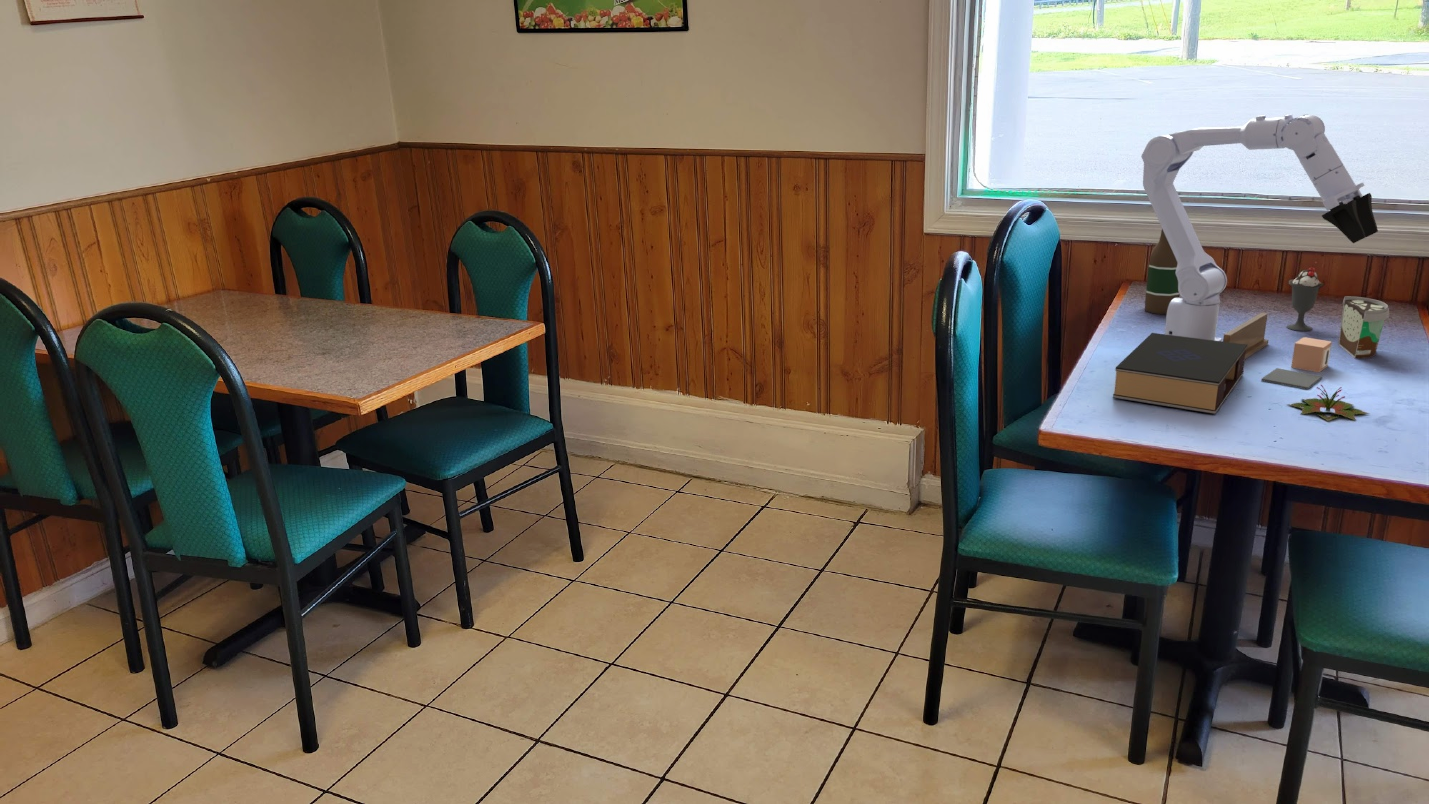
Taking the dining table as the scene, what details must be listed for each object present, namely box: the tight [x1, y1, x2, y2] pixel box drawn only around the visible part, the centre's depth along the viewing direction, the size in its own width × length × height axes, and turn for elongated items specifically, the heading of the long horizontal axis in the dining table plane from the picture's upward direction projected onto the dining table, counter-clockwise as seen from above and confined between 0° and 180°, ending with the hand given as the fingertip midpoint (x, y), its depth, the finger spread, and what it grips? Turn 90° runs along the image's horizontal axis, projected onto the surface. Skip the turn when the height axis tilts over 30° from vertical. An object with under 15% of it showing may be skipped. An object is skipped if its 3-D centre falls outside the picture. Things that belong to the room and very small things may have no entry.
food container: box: [1337, 295, 1390, 359], centre depth 208 cm, size 12×6×10 cm, turn 168°
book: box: [1112, 332, 1247, 415], centre depth 194 cm, size 17×25×7 cm
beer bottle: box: [1144, 228, 1181, 315], centre depth 240 cm, size 8×8×24 cm
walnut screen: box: [1222, 312, 1269, 360], centre depth 210 cm, size 3×20×6 cm, turn 135°
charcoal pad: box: [1260, 367, 1323, 390], centre depth 196 cm, size 8×8×1 cm
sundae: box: [1286, 261, 1325, 332], centre depth 224 cm, size 7×7×15 cm
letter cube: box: [1290, 336, 1333, 373], centre depth 202 cm, size 5×5×5 cm
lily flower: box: [1288, 384, 1370, 422], centre depth 180 cm, size 12×12×5 cm
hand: (1365, 237), depth 192 cm, fingers open, 7 cm apart
